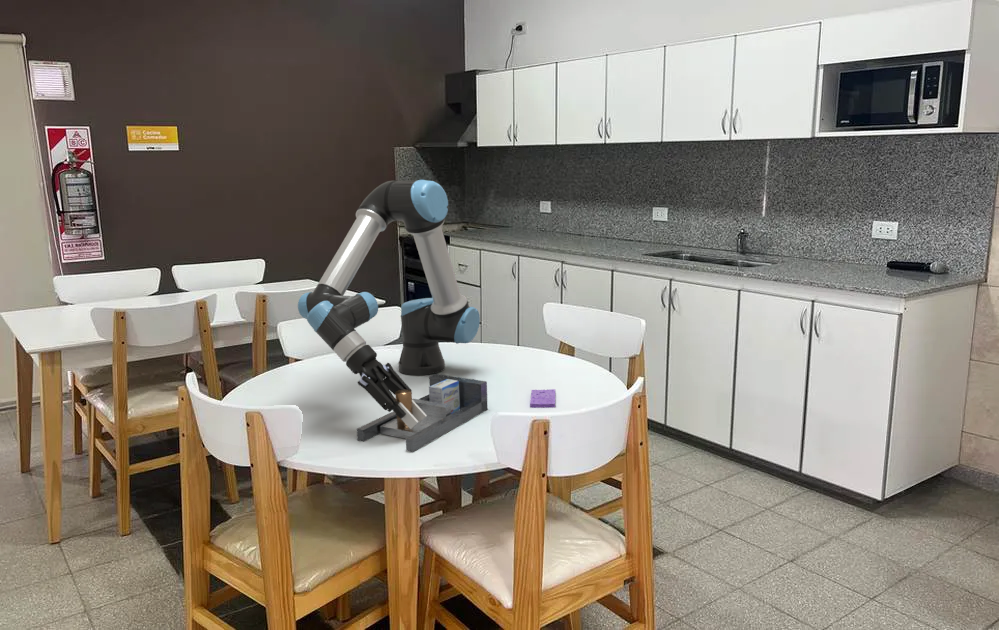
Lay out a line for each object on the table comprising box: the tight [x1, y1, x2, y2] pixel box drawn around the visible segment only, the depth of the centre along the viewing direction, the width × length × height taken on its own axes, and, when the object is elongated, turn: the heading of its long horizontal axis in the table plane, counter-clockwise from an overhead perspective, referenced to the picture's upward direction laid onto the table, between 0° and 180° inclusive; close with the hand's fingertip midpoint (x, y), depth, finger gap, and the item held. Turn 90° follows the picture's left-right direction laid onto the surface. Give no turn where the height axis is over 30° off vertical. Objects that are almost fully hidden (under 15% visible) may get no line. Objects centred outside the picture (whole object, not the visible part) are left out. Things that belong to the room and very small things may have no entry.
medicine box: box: [428, 379, 460, 414], centre depth 203 cm, size 8×4×9 cm, turn 148°
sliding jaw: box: [380, 389, 451, 440], centre depth 192 cm, size 12×14×11 cm
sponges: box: [529, 388, 557, 409], centre depth 213 cm, size 7×13×2 cm, turn 176°
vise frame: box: [356, 373, 489, 453], centre depth 195 cm, size 17×34×8 cm, turn 150°
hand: (418, 422), depth 187 cm, fingers closed on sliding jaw, 4 cm apart
